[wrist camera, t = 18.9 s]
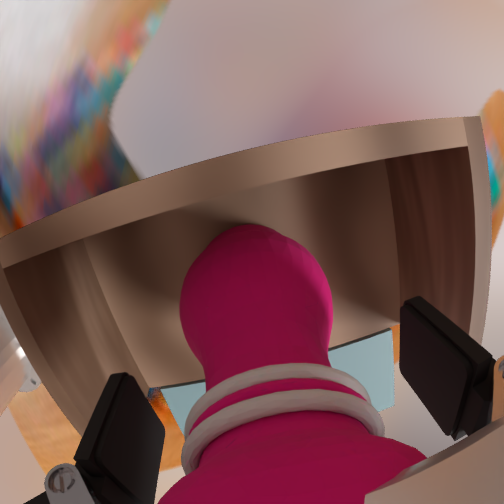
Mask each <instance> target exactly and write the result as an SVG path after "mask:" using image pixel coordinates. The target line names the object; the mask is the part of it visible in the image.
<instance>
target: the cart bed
mask: <svg viewBox="0 0 504 504" xmlns="http://www.w3.org/2000/svg"><path fill="white" fill-rule="evenodd" d="M248 224H253V225H261V226H265V227H268V228H271V229H273V230H275V231H277V232H279V233H280V234H282V235H284V236H286V237H289V238H291V239H293V240H294V241H296V242H298V243H299V244H301V245H302V246H303V247H305V248H306V249H307V250H308V251H309V252H310V253H311V254H312V255H313V256H314V257H315V259H316V260H317V262H318V263H319V265H320V266H321V268H322V270H323V272H324V274H325V276H326V278H327V281H328V284H329V287H330V290H331V294H332V304H333V324H332V330H331V336H330V341H329V347H328V348H331V347H334V346H337V345H340V344H343V343H346V342H349V341H352V340H355V339H358V338H361V337H364V336H367V335H370V334H373V333H376V332H378V331H381V330H384V329H387V328H389V327H392V326H395V325H397V324H400V307H401V306H403V303H404V301H405V300H408V299H411V298H413V297H416V296H421V297H422V298H424V299H425V300H426V301H427V302H429V303H430V304H431V305H433V306H434V307H435V308H436V309H438V310H439V311H440V312H441V313H443V314H444V315H445V316H446V317H447V318H449V319H450V320H451V321H452V322H454V323H455V324H456V325H457V326H458V327H460V328H461V329H462V330H463V331H464V332H466V333H467V334H468V335H469V336H470V337H472V338H473V339H474V340H475V341H476V342H477V343H479V344H480V345H481V343H482V337H483V331H484V325H485V318H486V311H487V304H488V295H489V283H490V271H491V249H492V216H491V195H490V181H489V171H488V162H487V154H486V147H485V141H484V135H483V129H482V124H481V118H480V116H475V117H455V118H439V119H426V120H416V121H406V122H397V123H389V124H380V125H373V126H366V127H359V128H352V129H346V130H340V131H334V132H329V133H322V134H317V135H312V136H306V137H301V138H296V139H292V140H287V141H282V142H277V143H273V144H268V145H264V146H260V147H256V148H251V149H247V150H243V151H239V152H235V153H232V154H227V155H224V156H220V157H216V158H212V159H209V160H205V161H202V162H198V163H194V164H191V165H188V166H184V167H181V168H178V169H174V170H171V171H168V172H165V173H161V174H158V175H155V176H152V177H149V178H146V179H143V180H140V181H137V182H134V183H131V184H128V185H126V186H123V187H120V188H117V189H114V190H112V191H109V192H106V193H104V194H101V195H98V196H96V197H93V198H90V199H88V200H85V201H83V202H80V203H78V204H75V205H73V206H70V207H68V208H66V209H63V210H61V211H58V212H56V213H54V214H51V215H49V216H47V217H44V218H42V219H40V220H38V221H36V222H33V223H31V224H29V225H27V226H25V227H22V228H20V229H18V230H16V231H14V232H12V233H10V234H8V235H6V236H4V237H2V238H0V305H1V308H2V310H3V312H4V314H5V316H6V318H7V320H8V322H9V325H10V327H11V329H12V331H13V333H14V334H15V336H16V338H17V340H18V342H19V344H20V346H21V348H22V349H23V351H24V353H25V355H26V357H27V358H28V360H29V362H30V363H31V365H32V367H33V368H34V370H35V372H36V373H37V375H38V377H39V378H40V380H41V381H42V383H43V384H44V386H45V387H46V389H47V391H48V392H49V393H50V395H51V396H52V398H53V399H54V401H55V402H56V404H57V405H58V406H59V408H60V409H61V411H62V412H63V413H64V415H65V416H66V417H67V419H68V420H69V421H70V423H71V424H72V425H73V426H74V428H75V429H76V430H77V431H78V433H79V434H80V435H81V436H82V437H83V434H84V432H85V430H86V427H87V425H88V423H89V420H90V418H91V416H92V414H93V411H94V409H95V407H96V405H97V402H98V400H99V398H100V396H101V394H102V391H103V389H104V387H105V385H106V383H107V381H108V379H109V377H110V375H111V374H114V373H121V372H127V373H128V374H129V375H132V376H134V378H135V379H136V381H137V383H138V385H139V386H140V388H141V390H142V392H143V393H144V395H145V397H146V398H147V395H148V391H149V388H153V387H160V386H166V385H173V384H179V383H185V382H191V381H196V380H202V379H205V374H204V370H203V366H202V365H201V363H200V362H199V361H198V359H197V358H196V357H195V355H194V354H193V352H192V351H191V349H190V347H189V346H188V343H187V341H186V339H185V336H184V333H183V329H182V326H181V321H180V316H179V303H180V296H181V289H182V285H183V281H184V278H185V276H186V274H187V272H188V270H189V268H190V266H191V265H192V263H193V262H194V261H195V259H196V258H197V257H198V256H199V255H200V254H201V253H202V252H203V251H204V250H205V249H206V247H207V246H208V245H209V243H210V242H211V241H212V240H213V239H214V238H215V237H216V236H218V235H219V234H221V233H222V232H224V231H226V230H228V229H230V228H233V227H236V226H240V225H248Z"/></svg>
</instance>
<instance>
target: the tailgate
mask: <svg viewBox="0 0 504 504" xmlns="http://www.w3.org/2000/svg"><path fill="white" fill-rule="evenodd" d="M328 359H329V361H330V364H331V367H332V368H335V369H338V370H340V371H343V372H346V373H348V374H349V375H351V376H352V377H354V378H355V379H357V380H358V381H359V382H360V383H361V384H362V385H363V386H364V387H365V389H366V391H367V393H368V395H369V396H370V400H371V404H372V406H373V407H374V408H375V409H376V410H377V411H378V412H379V411H382V410H384V409H387V408H389V407H392V406H394V359H393V340H392V330H391V329H390V328H387V329H384V330H381V331H378V332H376V333H373V334H370V335H367V336H364V337H361V338H358V339H355V340H352V341H349V342H346V343H343V344H340V345H337V346H334V347H331V348H328ZM160 390H161V392H162V394H163V396H164V398H165V400H166V402H167V404H168V406H169V408H170V410H171V412H172V414H173V416H174V418H175V420H176V422H177V423H178V425H179V427H180V429H181V431H182V433H183V435H184V428H185V422H186V419H187V416H188V414H189V412H190V410H191V408H192V407H193V405H194V404H195V403H196V402H197V400H198V399H199V398H200V397H202V396H203V395H204V394H205V393H206V384H205V379H202V380H196V381H191V382H185V383H179V384H173V385H166V386H161V389H160ZM184 436H185V435H184Z"/></svg>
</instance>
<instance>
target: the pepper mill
mask: <svg viewBox="0 0 504 504" xmlns="http://www.w3.org/2000/svg"><path fill="white" fill-rule="evenodd" d="M179 316H180V321H181V326H182V329H183V333H184V336H185V339H186V341H187V343H188V346H189V347H190V349H191V351H192V352H193V354H194V355H195V357H196V358H197V359H198V361H199V362H200V363H201V365H202V366H203V370H204V374H205V384H206V393H205V394H204V395H203V396H202V397H200V398H199V399H198V400H197V402H196V403H195V404H194V405H193V407H192V408H191V410H190V412H189V414H188V416H187V419H186V422H185V428H184V435H185V443H184V446H183V448H182V454H181V462H182V467H183V469H184V472H185V474H186V476H184V477H183V478H181V479H180V480H179V481H178V482H177V483H176V484H174V485H173V486H172V487H171V488H170V489H169V490H168V491H167V492H166V494H165V495H164V496H163V497H162V498H161V499H160V500H159V502H158V504H364V502H365V495H366V494H368V493H370V492H371V491H373V490H375V489H376V488H378V487H380V486H381V485H383V484H385V483H386V482H388V481H389V480H391V479H393V478H394V477H395V476H397V475H398V474H399V473H400V472H401V471H403V470H404V469H406V468H408V467H410V466H412V465H415V464H417V463H419V462H421V461H423V460H425V459H427V458H426V457H425V455H423V454H422V453H421V452H420V451H418V450H417V449H416V448H414V447H411V446H409V445H406V444H403V443H401V442H398V441H396V440H393V439H389V438H385V437H384V428H385V427H384V424H383V420H382V417H381V416H380V414H379V413H378V411H377V410H376V409H375V408H374V407H373V406H372V404H371V400H370V396H369V395H368V393H367V391H366V389H365V387H364V386H363V385H362V384H361V383H360V382H359V381H358V380H357V379H355V378H354V377H352V376H351V375H349V374H348V373H346V372H343V371H340V370H338V369H335V368H332V367H331V364H330V361H329V359H328V347H329V341H330V336H331V330H332V324H333V304H332V294H331V290H330V287H329V284H328V281H327V278H326V276H325V274H324V272H323V270H322V268H321V266H320V265H319V263H318V262H317V260H316V259H315V257H314V256H313V255H312V254H311V253H310V252H309V251H308V250H307V249H306V248H305V247H303V246H302V245H301V244H299V243H298V242H296V241H294V240H293V239H291V238H289V237H286V236H284V235H282V234H280V233H279V232H277V231H275V230H273V229H271V228H268V227H265V226H261V225H253V224H248V225H240V226H236V227H233V228H230V229H228V230H226V231H224V232H222V233H221V234H219V235H218V236H216V237H215V238H214V239H213V240H212V241H211V242H210V243H209V245H208V246H207V247H206V249H205V250H204V251H203V252H202V253H201V254H200V255H199V256H198V257H197V258H196V259H195V261H194V262H193V263H192V265H191V266H190V268H189V270H188V272H187V274H186V276H185V278H184V281H183V285H182V289H181V296H180V303H179Z"/></svg>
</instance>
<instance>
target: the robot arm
mask: <svg viewBox="0 0 504 504" xmlns="http://www.w3.org/2000/svg"><path fill="white" fill-rule="evenodd" d="M399 368H400V371H401V374H402V375H403V377H404V378H405V379H406V381H407V382H408V383H409V385H410V386H411V388H412V389H413V390H414V392H415V393H416V394H417V396H418V397H419V398H420V400H421V401H422V403H423V404H424V405H425V407H426V408H427V409H428V411H429V412H430V414H431V415H432V417H433V418H434V419H435V421H436V422H437V424H438V425H439V426H440V428H441V429H442V431H443V432H444V433H445V435H447V436H449V435H451V436H452V438H453V439H454V441H456V440H458V439H459V438H461V437H463V436H464V435H466V434H467V435H468V437H466V438H465V439H463V440H461V441H459V442H458V443H456V444H454V445H452V446H450V447H448V448H447V449H445V450H443V451H441V452H439V453H437V454H435V455H433V456H431V457H429V458H427V459H425V460H423V461H421V462H419V463H417V464H415V465H412V466H410V467H408V468H406V469H404V470H403V471H401V472H400V473H399V474H398V475H397V476H395V477H394V478H393V479H391V480H389V481H388V482H386V483H385V484H383V485H381V486H380V487H378V488H376V489H375V490H373V491H371V492H370V493H368V494H366V495H365V502H364V504H504V355H503V356H502V357H500V358H499V359H498V360H497V361H496V360H495V359H493V358H492V355H491V354H490V353H489V352H488V351H487V350H486V349H484V348H483V347H482V346H481V345H480V344H479V343H477V342H476V341H475V340H474V339H473V338H472V337H470V336H469V335H468V334H467V333H466V332H464V331H463V330H462V329H461V328H460V327H458V326H457V325H456V324H455V323H454V322H452V321H451V320H450V319H449V318H447V317H446V316H445V315H444V314H443V313H441V312H440V311H439V310H438V309H436V308H435V307H434V306H433V305H431V304H430V303H429V302H427V301H426V300H425V299H424V298H422V297H421V296H416V297H413V298H411V299H408V300H405V301H404V303H403V306H401V307H400V359H399ZM41 383H42V381H41V380H40V378H39V377H38V375H37V373H36V372H35V370H34V368H33V367H32V365H31V363H30V362H29V360H28V358H27V357H26V355H25V353H24V351H23V349H22V348H21V346H20V344H19V342H18V340H17V338H16V336H15V334H14V333H13V331H12V329H11V327H10V325H9V322H8V320H7V318H6V316H5V314H4V312H3V310H2V308H1V305H0V416H1V415H2V413H3V412H4V410H5V409H6V408H7V406H8V405H9V403H10V402H11V400H12V399H13V398H14V396H15V395H16V393H17V392H18V391H20V392H31V391H34V390H35V389H37V388H38V387H39V385H40V384H41ZM164 438H165V428H164V426H163V424H162V422H161V421H160V419H159V418H158V416H157V415H156V413H155V411H154V410H153V408H152V406H151V405H150V403H149V402H148V400H147V398H146V397H145V395H144V393H143V392H142V390H141V388H140V386H139V385H138V383H137V381H136V379H135V378H134V376H132V375H129V374H128V373H127V372H121V373H114V374H111V375H110V377H109V379H108V381H107V383H106V385H105V387H104V389H103V391H102V394H101V396H100V398H99V400H98V402H97V405H96V407H95V409H94V411H93V414H92V416H91V418H90V420H89V423H88V425H87V427H86V430H85V432H84V434H83V437H82V439H81V441H80V444H79V446H78V449H77V451H76V454H75V456H74V458H73V459H74V460H75V461H76V464H75V466H74V465H72V464H68V463H65V464H60V465H57V466H55V467H54V468H52V469H51V470H50V471H49V472H48V474H47V476H46V478H45V482H44V485H45V490H46V491H45V492H43V493H41V494H40V495H38V496H36V497H35V498H33V499H31V500H30V501H28V502H26V503H24V504H154V500H155V493H156V487H157V480H158V474H159V468H160V462H161V456H162V450H163V444H164Z"/></svg>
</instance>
